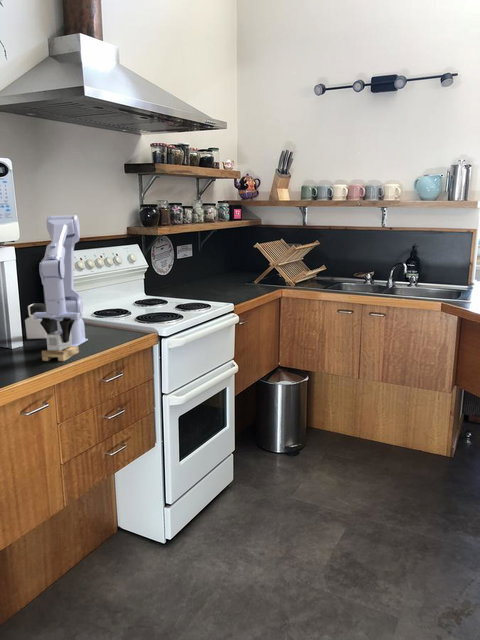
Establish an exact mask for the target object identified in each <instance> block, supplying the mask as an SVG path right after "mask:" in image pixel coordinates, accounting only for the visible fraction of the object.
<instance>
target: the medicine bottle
mask: <svg viewBox="0 0 480 640" xmlns="http://www.w3.org/2000/svg"><path fill="white" fill-rule="evenodd" d="M27 310H28V311H27V312H28V316H29V317H27V318H25V319H24V323H25V333H26V339H27V340H34V339H35V340H37V339H47V337H46V335H47V333H46V331H45V329H44V328H43V327H42V325H41V324H40V322H41V321H42V319H37V320H34V313H36V312H47V311H46V303H43V302H42V303H41V302H40V303H39V302H37V303H32V304H30V305H27Z"/></svg>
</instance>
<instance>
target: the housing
mask: <svg viewBox="0 0 480 640" xmlns="http://www.w3.org/2000/svg"><path fill="white" fill-rule="evenodd" d="M46 337H47V338H46V347H47V349H46V350H48V351H60V350H63V349H65V348H67V347H69V346H72V335H71V332H70V337H69V341H68V342H67V343H64V341H63V333H62V330H58V329H57V330H55V332H52V333H49V334H47V335H46Z"/></svg>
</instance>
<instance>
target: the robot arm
mask: <svg viewBox="0 0 480 640" xmlns="http://www.w3.org/2000/svg"><path fill="white" fill-rule="evenodd" d="M80 228H81V227H80V219H79V216H77V214H72V215H71V214H70V215H48V216H47V218H46V229H47V232H48V235H49V237H50V243H48V244H47V245H46V247H45V248H46V249H45V253H44V258H43V260H42V261H41V262H39V265H38V266H39V269H38V271H39V276H40V278H41V279H40V280H41V284H42V285H43V290H44V291H43V292H44V299H45V300H44V301H45V305H46V312H36V313H34V320H37V319H42V321H41V322H40V324H41V325H42V327H43V328H44V329H45V331H46V333H47V334H49V333H52V332H55V331H56V330H55V327H56V326H57V330H62V333H63V341H64V343H67V342H68V341H69V337H70V332H71V335H72V346H78V347H79V346H81V345H82V344H84V343H85V342H87V341H88V340H89V339H88V338H86V332H85V331H86V330H85V329H86V328H85V322H84V320H83V318H81V317H82V316H83V315H84V303H83V297H82V296H81V294H80V293H79V292H77V291H76V290H75V289H74V286H75V285H74V284H75V283H74V276H75V275H74V273H75V272H74V262H75V261H74V257H75V256H74V250H75V244H76V243H78V242H79V241H80V237H81V235H80V234H81V231H80Z"/></svg>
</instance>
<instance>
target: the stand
mask: <svg viewBox="0 0 480 640" xmlns="http://www.w3.org/2000/svg"><path fill="white" fill-rule="evenodd" d="M79 349H80V348H79V346H69V347H67V348H65V349H63V350H60V351H48V349H46V350H41V359H42V361H44V362H48V361H51V360H52V359H54V358H57V361H58V362H65V361H66V360H68V359H70V358H72V357H73V356H74V355H77V354H78V353H80V350H79Z"/></svg>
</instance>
